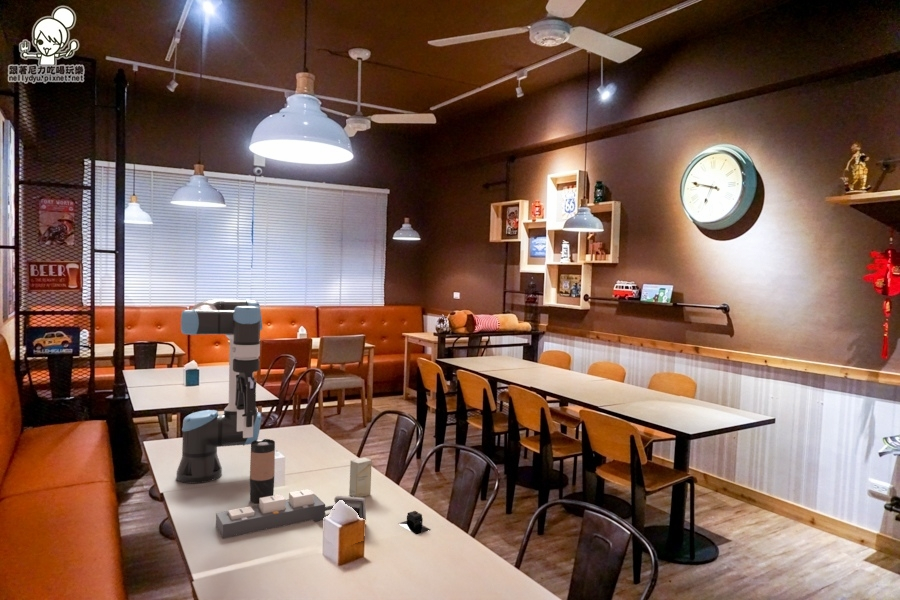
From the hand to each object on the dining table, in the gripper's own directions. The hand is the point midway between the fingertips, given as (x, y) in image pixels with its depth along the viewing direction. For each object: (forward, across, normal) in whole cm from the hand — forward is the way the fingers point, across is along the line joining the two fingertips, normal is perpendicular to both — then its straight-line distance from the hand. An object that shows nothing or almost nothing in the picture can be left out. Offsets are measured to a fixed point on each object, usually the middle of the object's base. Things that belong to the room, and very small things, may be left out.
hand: (244, 433), depth 174 cm
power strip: (+27, +6, +10) cm, 29 cm away
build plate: (+28, +28, +44) cm, 59 cm away
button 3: (+24, +6, +16) cm, 29 cm away
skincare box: (+27, -3, +40) cm, 48 cm away
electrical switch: (+27, +18, +27) cm, 42 cm away
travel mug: (+27, -12, +9) cm, 31 cm away
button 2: (+24, +6, +7) cm, 26 cm away
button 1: (+26, +6, -2) cm, 27 cm away
